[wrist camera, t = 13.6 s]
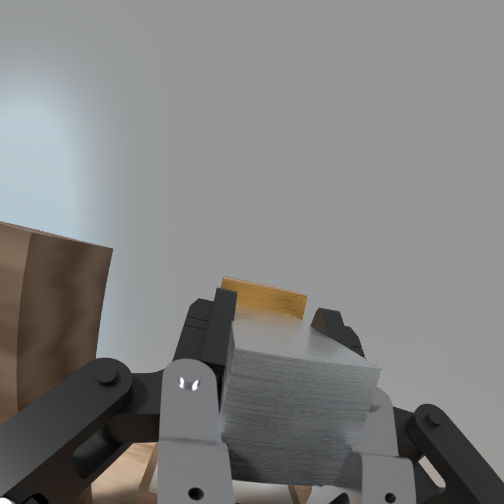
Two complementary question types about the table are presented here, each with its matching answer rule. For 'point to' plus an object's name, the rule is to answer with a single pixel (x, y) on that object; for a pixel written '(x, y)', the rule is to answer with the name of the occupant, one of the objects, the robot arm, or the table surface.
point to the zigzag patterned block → (66, 334)
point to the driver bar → (288, 392)
